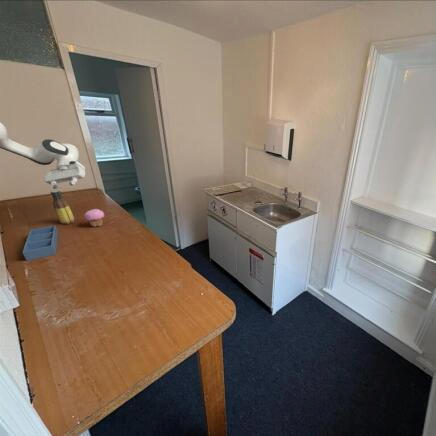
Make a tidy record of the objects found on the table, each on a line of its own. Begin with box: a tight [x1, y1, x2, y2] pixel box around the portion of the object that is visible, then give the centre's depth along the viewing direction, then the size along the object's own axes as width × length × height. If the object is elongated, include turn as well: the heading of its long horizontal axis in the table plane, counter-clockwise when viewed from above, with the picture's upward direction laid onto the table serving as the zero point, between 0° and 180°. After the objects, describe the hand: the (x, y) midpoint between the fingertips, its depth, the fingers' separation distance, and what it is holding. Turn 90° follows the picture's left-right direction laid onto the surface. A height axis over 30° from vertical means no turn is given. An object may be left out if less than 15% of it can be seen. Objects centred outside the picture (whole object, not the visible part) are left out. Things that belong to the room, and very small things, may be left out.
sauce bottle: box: [50, 189, 76, 225], centre depth 134 cm, size 6×6×20 cm
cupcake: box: [83, 208, 105, 228], centre depth 134 cm, size 9×9×10 cm
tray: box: [22, 225, 59, 262], centre depth 113 cm, size 9×27×4 cm, turn 41°
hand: (63, 186), depth 134 cm, fingers open, 8 cm apart
